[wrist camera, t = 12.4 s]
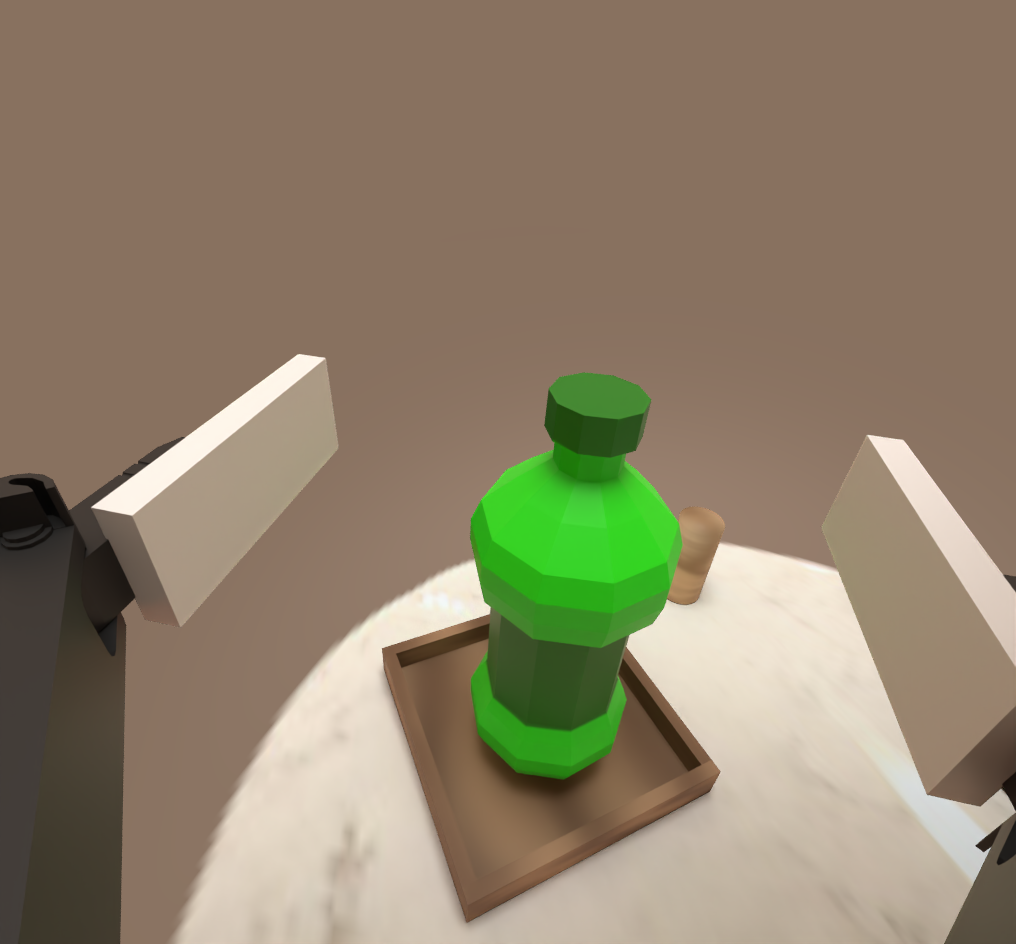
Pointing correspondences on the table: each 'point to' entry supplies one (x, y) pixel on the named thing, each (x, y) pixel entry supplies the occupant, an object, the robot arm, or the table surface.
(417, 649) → the tray
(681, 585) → the peg
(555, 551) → the plastic bottle
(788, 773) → the table surface
